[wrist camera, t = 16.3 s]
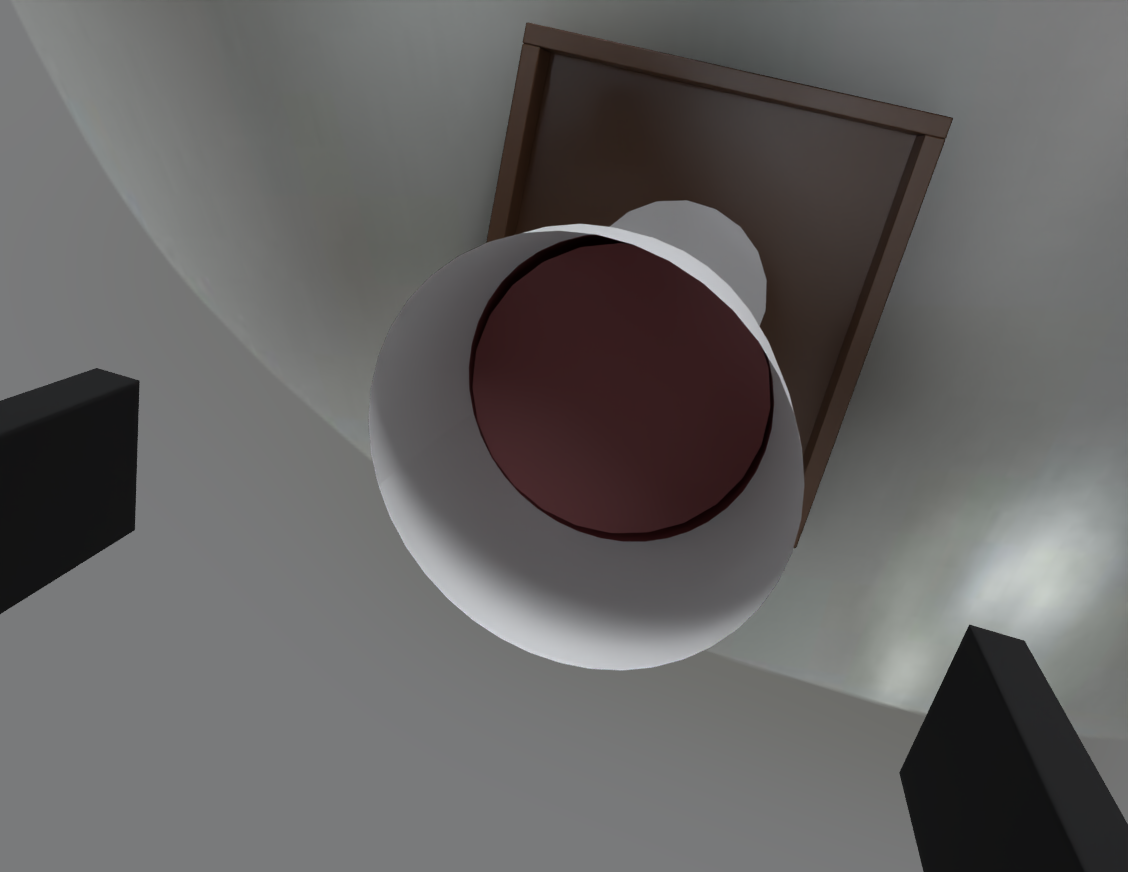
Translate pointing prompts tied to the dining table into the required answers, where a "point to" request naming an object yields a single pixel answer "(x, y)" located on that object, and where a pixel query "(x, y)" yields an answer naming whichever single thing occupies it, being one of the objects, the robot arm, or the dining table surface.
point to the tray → (731, 189)
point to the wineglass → (594, 437)
